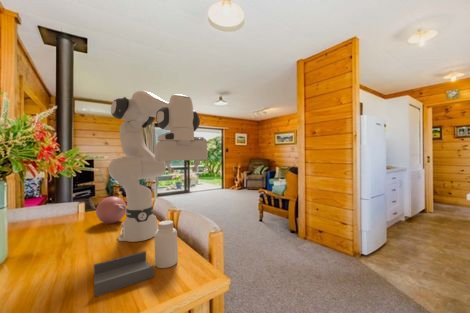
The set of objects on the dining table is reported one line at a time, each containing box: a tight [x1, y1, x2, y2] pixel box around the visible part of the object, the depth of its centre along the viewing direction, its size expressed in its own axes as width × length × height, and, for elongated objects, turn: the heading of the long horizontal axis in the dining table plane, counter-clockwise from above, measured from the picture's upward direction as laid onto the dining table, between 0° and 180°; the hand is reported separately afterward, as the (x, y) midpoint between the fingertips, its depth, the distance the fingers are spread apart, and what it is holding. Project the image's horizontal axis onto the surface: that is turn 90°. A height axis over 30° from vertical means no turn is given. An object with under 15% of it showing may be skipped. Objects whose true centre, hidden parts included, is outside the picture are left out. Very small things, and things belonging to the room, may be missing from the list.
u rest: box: [93, 250, 155, 297], centre depth 68 cm, size 13×16×4 cm
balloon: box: [95, 196, 127, 224], centre depth 121 cm, size 15×20×15 cm
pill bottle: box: [153, 219, 179, 269], centre depth 76 cm, size 8×8×15 cm
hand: (183, 172), depth 80 cm, fingers open, 8 cm apart
